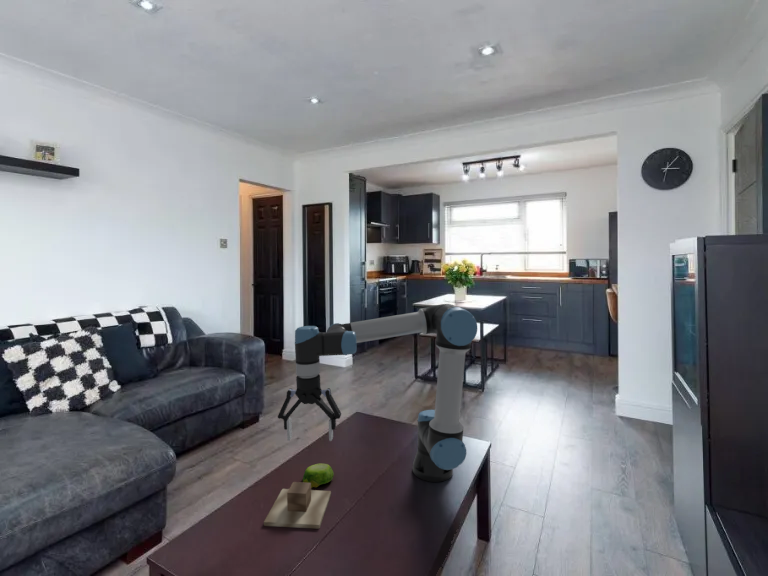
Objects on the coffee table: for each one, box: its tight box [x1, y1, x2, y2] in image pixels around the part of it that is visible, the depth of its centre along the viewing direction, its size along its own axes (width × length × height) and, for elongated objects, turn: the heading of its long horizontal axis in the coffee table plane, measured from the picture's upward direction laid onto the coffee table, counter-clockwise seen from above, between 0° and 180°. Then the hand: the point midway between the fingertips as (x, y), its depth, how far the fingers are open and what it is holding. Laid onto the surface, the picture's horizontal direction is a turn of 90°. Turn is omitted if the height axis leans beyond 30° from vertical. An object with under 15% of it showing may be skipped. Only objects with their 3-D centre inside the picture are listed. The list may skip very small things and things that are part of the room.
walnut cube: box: [287, 481, 312, 512], centre depth 125 cm, size 6×6×6 cm
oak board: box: [263, 488, 332, 530], centre depth 125 cm, size 17×17×1 cm
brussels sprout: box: [302, 462, 334, 489], centre depth 142 cm, size 12×11×5 cm
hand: (310, 438), depth 126 cm, fingers open, 13 cm apart
